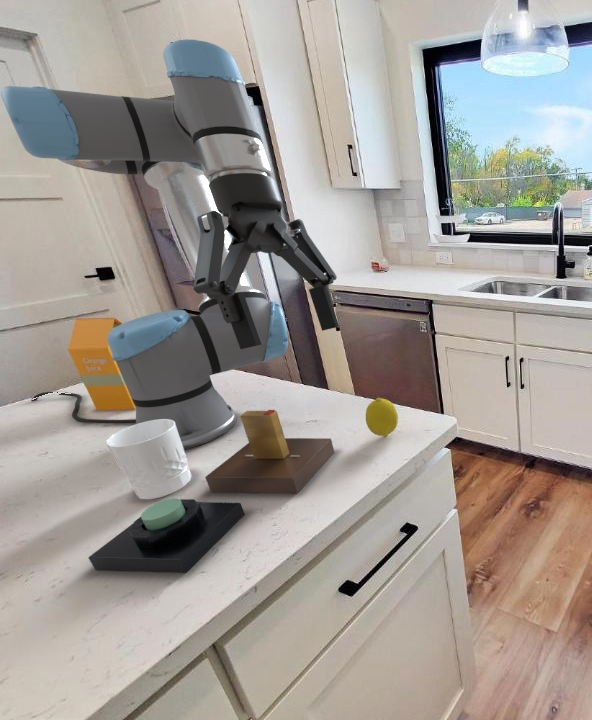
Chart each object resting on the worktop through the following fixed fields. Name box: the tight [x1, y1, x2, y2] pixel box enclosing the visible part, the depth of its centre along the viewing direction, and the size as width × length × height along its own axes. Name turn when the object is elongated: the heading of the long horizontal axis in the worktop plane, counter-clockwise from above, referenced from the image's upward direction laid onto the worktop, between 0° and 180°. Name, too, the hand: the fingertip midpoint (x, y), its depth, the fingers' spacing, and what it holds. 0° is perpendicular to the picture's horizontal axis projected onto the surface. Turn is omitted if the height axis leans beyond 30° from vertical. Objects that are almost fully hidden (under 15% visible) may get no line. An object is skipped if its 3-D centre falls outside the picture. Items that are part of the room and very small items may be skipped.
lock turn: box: [239, 409, 289, 459], centre depth 67 cm, size 5×2×8 cm, turn 87°
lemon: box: [365, 397, 399, 438], centre depth 77 cm, size 6×6×8 cm
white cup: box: [105, 419, 192, 501], centre depth 65 cm, size 8×8×10 cm
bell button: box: [140, 498, 186, 530], centre depth 54 cm, size 4×4×2 cm
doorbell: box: [88, 498, 246, 574], centre depth 55 cm, size 12×10×4 cm
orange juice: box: [67, 317, 136, 411], centre depth 92 cm, size 8×9×20 cm
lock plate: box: [204, 437, 335, 495], centre depth 69 cm, size 14×11×3 cm
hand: (295, 337), depth 58 cm, fingers open, 13 cm apart
